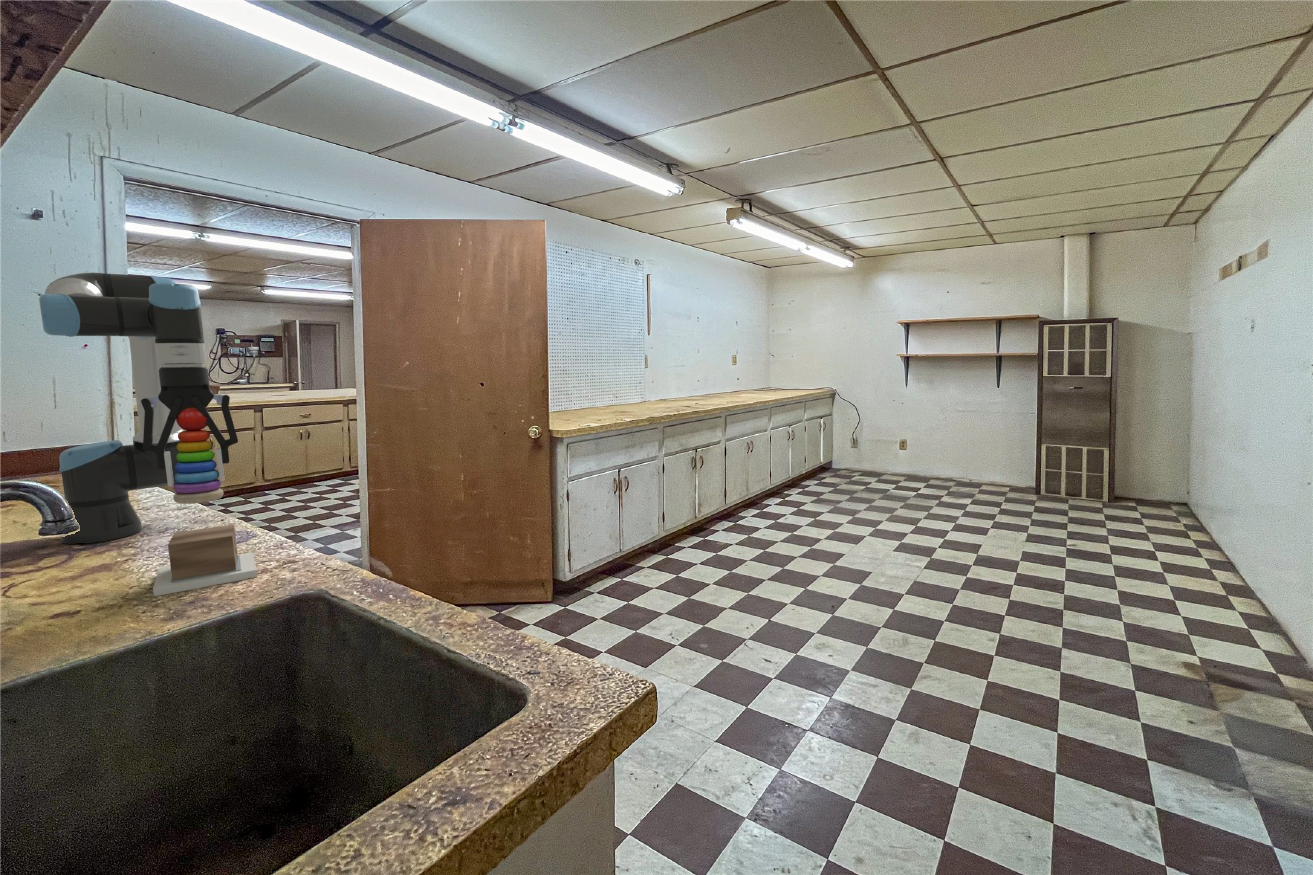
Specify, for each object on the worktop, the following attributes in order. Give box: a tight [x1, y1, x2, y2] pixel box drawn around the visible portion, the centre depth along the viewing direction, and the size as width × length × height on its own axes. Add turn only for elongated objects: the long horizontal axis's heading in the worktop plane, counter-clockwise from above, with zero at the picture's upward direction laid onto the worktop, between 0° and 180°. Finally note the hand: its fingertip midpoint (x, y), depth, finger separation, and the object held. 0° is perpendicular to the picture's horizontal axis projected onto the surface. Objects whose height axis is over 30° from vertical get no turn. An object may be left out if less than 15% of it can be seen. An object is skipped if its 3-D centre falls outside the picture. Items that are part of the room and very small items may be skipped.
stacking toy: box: [172, 408, 224, 505], centre depth 118 cm, size 8×8×19 cm
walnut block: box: [167, 524, 239, 581], centre depth 121 cm, size 10×10×7 cm
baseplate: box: [152, 551, 258, 597], centre depth 121 cm, size 14×16×2 cm
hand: (197, 482), depth 119 cm, fingers closed on stacking toy, 7 cm apart
